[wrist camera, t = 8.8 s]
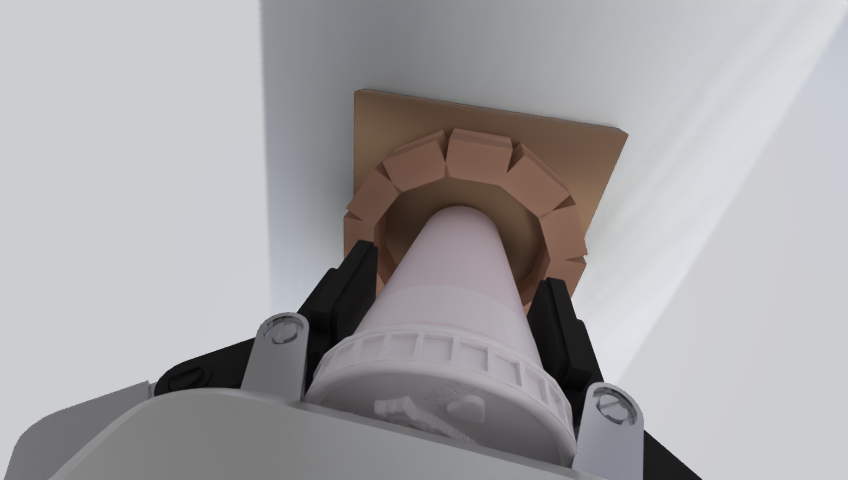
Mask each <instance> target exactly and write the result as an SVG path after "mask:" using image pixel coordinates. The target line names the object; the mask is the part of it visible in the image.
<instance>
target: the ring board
mask: <svg viewBox="0 0 848 480" xmlns="http://www.w3.org/2000/svg"><path fill="white" fill-rule="evenodd" d="M628 135H629V134H627V133H625V132H624V131H622V130H620V129H618V128H613V127H606V126H600V125H593V124H587V123H580V122H574V121H568V120H561V119H555V118H548V117H542V116H535V115H529V114H522V113H516V112H510V111H503V110H497V109H490V108H484V107H477V106H471V105H464V104H458V103H452V102H445V101H439V100H432V99H426V98H419V97H413V96H406V95H400V94H394V93H387V92H381V91H374V90H368V89H362V90H358V91H355V92H354V196H353V199H352V201H351V202H350V204H349V205H348V207H347V208H346V209H348V210H349V212H348V213H347V214H346V215H345V216H344V259H345V258H346V257H347V255H348V254H349V252H350V251H351V249H352V248H353V247H354V245H355V244H356V242H357V241H358V240H359V239H360V240H365V241H371V242H374V246H376V247H378V266H377V284H376V299H377V297H378V296H379V294H380V293H381V291H382V290H383V288H384V287H385V285H386V284H387V282H388V280H389V279H390V277H391V276H392V274H393V273H394V271H395V270H396V268H397V267H398V265H399V264H400V262H401V261H402V259H403V258H404V256H405V255H406V253H407V252H408V250H409V249H410V247H411V246H412V244H413V242H414V241H415V239H416V238H417V236H418V235H419V233H420V232H421V230H422V229H423V227H424V226H425V224H426V223H427V221H428V220H429V219H430V218H431V217H432V216H433V215H434V214H435V213H437V212H438V211H440V210H442V209H445V208H448V207H452V206H466V207H471V208H474V209H477V210H479V211H481V212H483V213H484V214H486V215H487V216H488V217H489V218H490V219H491V220H492V221H493V222H494V224H495V225H496V227H497V229H498V232H499V235H500V238H501V241H502V244H503V247H504V250H505V254H506V257H507V260H508V263H509V266H510V269H511V272H512V275H513V278H514V281H515V284H516V287H517V290H518V293H519V296H520V299H521V302H522V305H523V308H524V311H525V315H526V316H527V313H528V311H529V308H530V306H531V303H532V300H533V298H534V295H535V293H536V290H537V287H538V285H539V282H540V281H541V280H546V278H547V277H551V278H556V279H561V280H564V281H565V283H566V287H567V290H568V293H569V296H570V299H571V297H572V295H573V293H574V291H575V288H576V286H577V284H578V282H579V280H580V278H581V275H582V273H583V271H584V269H585V267H586V262H585V260H584V258H583V256H584V255H588V254H587V249H586V245H585V241H584V237H585V234H586V232H587V230H588V227H589V225H590V223H591V220H592V218H593V216H594V214H595V211H596V209H597V207H598V204H599V202H600V200H601V197H602V195H603V193H604V190H605V188H606V186H607V183H608V181H609V179H610V177H611V174H612V172H613V170H614V167H615V165H616V163H617V160H618V158H619V156H620V153H621V151H622V149H623V146H624V144H625V142H626V140H627V137H628Z"/></svg>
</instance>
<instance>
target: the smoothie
mask: <svg viewBox="0 0 848 480" xmlns="http://www.w3.org/2000/svg"><path fill="white" fill-rule="evenodd" d="M303 402H306V403H310V404H314V405H319V406H323V407H327V408H331V409H335V410H339V411H343V412H347V413H351V414H355V415H359V416H364V417H368V418H372V419H376V420H380V421H384V422H388V423H392V424H396V425H400V426H404V427H408V428H412V429H416V430H420V431H424V432H428V433H432V434H436V435H440V436H444V437H448V438H452V439H456V440H460V441H464V442H468V443H472V444H476V445H480V446H484V447H488V448H492V449H496V450H500V451H503V452H507V453H511V454H515V455H519V456H523V457H527V458H531V459H535V460H539V461H543V462H546V463H550V464H554V465H558V466H562V467H567V466H568V465H569V463H570V462H571V461H572V459H573V457H574V455H575V454H576V453H577V452H578V449H577V445H576V440H575V435H574V424H573V417H572V410H571V405H570V403H569V401H568V400H567V398H566V397H565V395H564V393H563V392H562V390H561V388H560V387H559V385H558V383H557V382H556V380H555V379H554V378H552V377H551V376H550V375H549V374H548V373H547V372H546V371H544V370H543V366H542V363H541V360H540V356H539V353H538V350H537V347H536V343H535V340H534V338H533V336H532V333H531V330H530V327H529V324H528V321H527V318H526V315H525V311H524V308H523V305H522V302H521V299H520V296H519V293H518V290H517V287H516V284H515V281H514V278H513V275H512V272H511V269H510V266H509V263H508V260H507V257H506V254H505V250H504V247H503V244H502V241H501V238H500V235H499V232H498V229H497V227H496V225H495V224H494V222H493V221H492V220H491V219H490V218H489V217H488V216H487V215H486V214H484V213H483V212H481V211H479V210H477V209H474V208H471V207H466V206H452V207H448V208H445V209H442V210H440V211H438V212H437V213H435V214H434V215H433V216H432V217H431V218H430V219H429V220H428V221H427V223H426V224H425V226H424V227H423V229H422V230H421V232H420V233H419V235H418V236H417V238H416V239H415V241H414V242H413V244H412V246H411V247H410V249H409V250H408V252H407V253H406V255H405V256H404V258H403V259H402V261H401V262H400V264H399V265H398V267H397V268H396V270H395V271H394V273H393V274H392V276H391V277H390V279H389V280H388V282H387V284H386V285H385V287H384V288H383V290H382V291H381V293H380V294H379V296H378V297H377V299H376V300H375V302H374V303H373V305H372V306H371V308H370V309H369V310H368V312H367V313H366V315H365V316H364V318H363V319H362V321H361V323H360V324H359V326H358V327H357V329H356V330H355V332H354V334H353V335H352V336H349V337H346V338H344V339H343V340H342V341H341V342H339V343H338V344H337V345H335V346H334V347H333V348H332V349H330V350H329V351H328V352H326V353H325V354H324V356H323V358H322V359H321V361H320V363H319V365H318V366H317V368H316V370H315V372H314V374H313V382H312V384H311V386H310V388H309V390H308V391H307V393H306V394H305V396H304V398H303Z"/></svg>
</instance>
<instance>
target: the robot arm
mask: <svg viewBox="0 0 848 480" xmlns="http://www.w3.org/2000/svg"><path fill="white" fill-rule="evenodd" d="M377 266H378V247H376V246H374V242H371V241H365V240H360V239H359V240H358V241H357V242H356V244H355V245H354V247H353V248H352V249H351V251H350V252H349V254H348V255H347V257H346V258H345V259H344V261H343V262H342V264H341V265H340V267H339V268H338V269H335V268H330V269H329V270H328V271H327V273H326V274H325V275H324V277H323V278H322V279H321V281H320V282H319V283H318V285H317V286H316V287H315V289H314V290H313V291H312V293H311V294H310V295H309V297H308V298H307V299H306V301H305V302H304V304H303V305H302V306H301V308H300V309H299V310H298V312H297V313H291V312H286V313H280V314H277V315H274V316H272V317H270V318H268V319H267V320H265V321H264V322H263V323H262V324H261V325H260V327H259V329H258V331H257V335H256V337H255V338H252V339H249V340H246V341H243V342H240V343H237V344H235V345H231V346H229V347H225V348H223V349H220V350H217V351H214V352H211V353H208V354H205V355H202V356H199V357H196V358H194V359H190V360H187V361H185V362H182V363H180V364H178V365H176V366H174V367H173V368H171V369H170V370H168V371H167V372H166V373H165V374H164V375H163V376H162V377H161V378H160V379H159V380H158V382H155V383H152V384H150V383H149V381H145V382H142V383H139V384H136V385H133V386H130V387H127V388H124V389H122V390H119V391H116V392H113V393H110V394H107V395H104V396H101V397H98V398H95V399H92V400H89V401H86V402H83V403H81V404H77V405H75V406H72V407H69V408H66V409H63V410H60V411H57V412H55V413H53V414H50V415H48V416H46V417H44V418H42V419H41V420H40V421H38V422H37V423H35V424H34V425H32V426H31V427H30V428H29V429H27V430H26V432H24V433H23V434H22V435H21V436H20V438H19V440H18V442H17V443H16V445H15V447H14V450H13V453H12V456H11V459H10V462H9V465H8V469H7V472H6V475H5V478H4V480H702V479H701V478H700V477H699V476H697V475H696V474H695V473H694V472H693V471H692V470H690V469H689V468H688V467H687V466H686V465H685V464H684V463H682V462H681V461H680V460H679V459H678V458H677V457H675V456H674V455H673V454H672V453H671V452H670V451H668V450H667V449H666V448H665V447H664V446H662V445H661V444H660V443H659V442H658V441H657V440H655V439H654V438H653V437H652V436H651V435H650V434H649V433H647V432H646V431H645V430H644V419H643V414H642V412H641V410H640V408H639V406H638V404H637V403H636V402H635V401H634V399H633V398H632V397H631V396H629V395H628V394H627V393H626V392H625V391H623V390H622V389H620V388H618V387H617V386H614V385H612V384H609V383H604V380H603V377H602V374H601V371H600V368H599V365H598V362H597V359H596V356H595V353H594V351H593V348H592V345H591V342H590V339H589V336H588V333H587V330H586V327H585V324H584V322H583V321H582V320H579V319H577V318H576V315H575V312H574V309H573V305H572V302H571V299H570V296H569V293H568V290H567V287H566V283H565V281H564V280H561V279H556V278H551V277H547V278H546V280H541V281H540V282H539V285H538V287H537V290H536V293H535V295H534V298H533V300H532V303H531V306H530V308H529V311H528V313H527V316H526V318H527V321H528V324H529V327H530V330H531V333H532V336H533V338H534V340H535V343H536V347H537V350H538V353H539V356H540V360H541V363H542V366H543V370H544V371H546V372H547V373H548V374H549V375H550V376H551V377H552V378H554V379H555V380H556V382H557V383H558V385H559V387H560V388H561V390H562V392H563V393H564V395H565V397H566V398H567V400H568V401H569V403H570V405H571V410H572V417H573V424H574V435H575V440H576V445H577V449H578V452H577V453H576V454H575V455H574V457H573V459H572V461H571V462H570V463H569V465H568V466H567V467H562V466H558V465H554V464H550V463H546V462H543V461H539V460H535V459H531V458H527V457H523V456H519V455H515V454H511V453H507V452H503V451H500V450H496V449H492V448H488V447H484V446H480V445H476V444H472V443H468V442H464V441H460V440H456V439H452V438H448V437H444V436H440V435H436V434H432V433H428V432H424V431H420V430H416V429H412V428H408V427H404V426H400V425H396V424H392V423H388V422H384V421H380V420H376V419H372V418H368V417H364V416H359V415H355V414H351V413H347V412H343V411H339V410H335V409H331V408H327V407H323V406H319V405H314V404H310V403H306V402H303V398H304V396H305V394H306V393H307V391H308V390H309V388H310V386H311V384H312V382H313V374H314V372H315V370H316V368H317V366H318V365H319V363H320V361H321V359H322V358H323V356H324V354H325V353H326V352H328V351H329V350H330V349H332V348H333V347H334V346H335V345H337V344H338V343H339V342H341V341H342V340H343V339H344V338H346V337H349V336H352V335H353V334H354V332H355V330H356V329H357V327H358V326H359V324H360V323H361V321H362V319H363V318H364V316H365V315H366V313H367V312H368V310H369V309H370V308H371V306H372V305H373V303H374V302H375V300H376V284H377Z"/></svg>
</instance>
